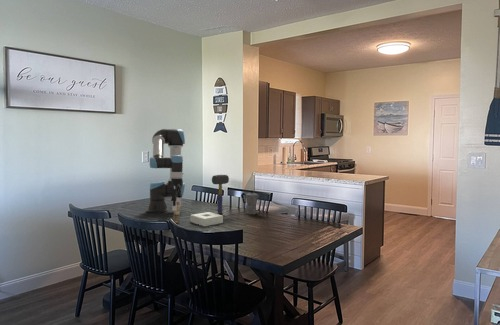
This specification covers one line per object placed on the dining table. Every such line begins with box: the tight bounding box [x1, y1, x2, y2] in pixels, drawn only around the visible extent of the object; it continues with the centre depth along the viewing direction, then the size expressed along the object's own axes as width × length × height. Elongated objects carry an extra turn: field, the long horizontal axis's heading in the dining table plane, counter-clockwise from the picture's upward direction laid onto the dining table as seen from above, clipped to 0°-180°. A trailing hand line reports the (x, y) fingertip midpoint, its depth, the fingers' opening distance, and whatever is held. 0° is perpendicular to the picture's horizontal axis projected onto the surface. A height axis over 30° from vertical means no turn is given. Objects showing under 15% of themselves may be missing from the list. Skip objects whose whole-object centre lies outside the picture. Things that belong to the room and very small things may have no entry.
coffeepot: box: [240, 190, 260, 215], centre depth 289 cm, size 15×9×18 cm, turn 65°
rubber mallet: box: [211, 174, 230, 214], centre depth 287 cm, size 12×8×30 cm, turn 129°
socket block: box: [189, 211, 224, 227], centre depth 256 cm, size 16×16×5 cm
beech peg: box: [173, 202, 181, 224], centre depth 254 cm, size 4×4×14 cm
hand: (176, 208), depth 254 cm, fingers open, 13 cm apart
